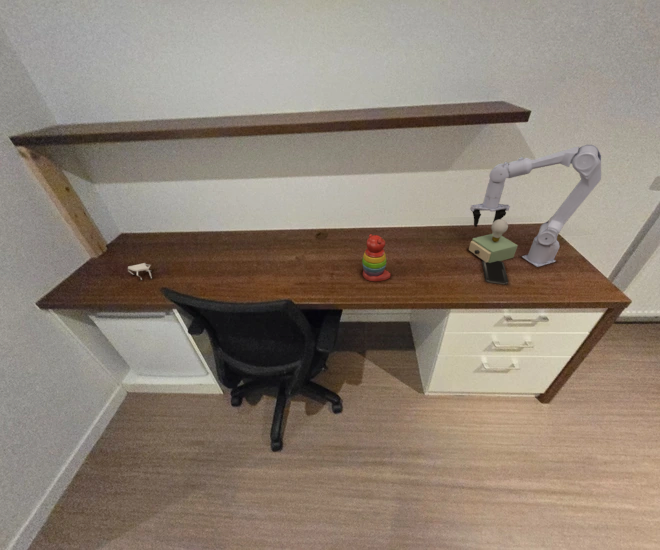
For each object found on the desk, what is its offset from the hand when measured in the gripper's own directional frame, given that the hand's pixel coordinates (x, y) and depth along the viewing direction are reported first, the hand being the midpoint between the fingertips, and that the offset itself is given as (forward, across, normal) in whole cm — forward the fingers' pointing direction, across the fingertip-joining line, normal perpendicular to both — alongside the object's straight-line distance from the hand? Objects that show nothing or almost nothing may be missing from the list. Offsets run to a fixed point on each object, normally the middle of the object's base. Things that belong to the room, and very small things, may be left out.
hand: (484, 225), depth 129 cm
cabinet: (+10, +3, -7) cm, 12 cm away
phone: (+10, 0, -20) cm, 23 cm away
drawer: (+9, +1, -8) cm, 12 cm away
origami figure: (+10, -148, -26) cm, 150 cm away
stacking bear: (+10, -47, -23) cm, 53 cm away
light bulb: (+4, +3, -7) cm, 8 cm away
